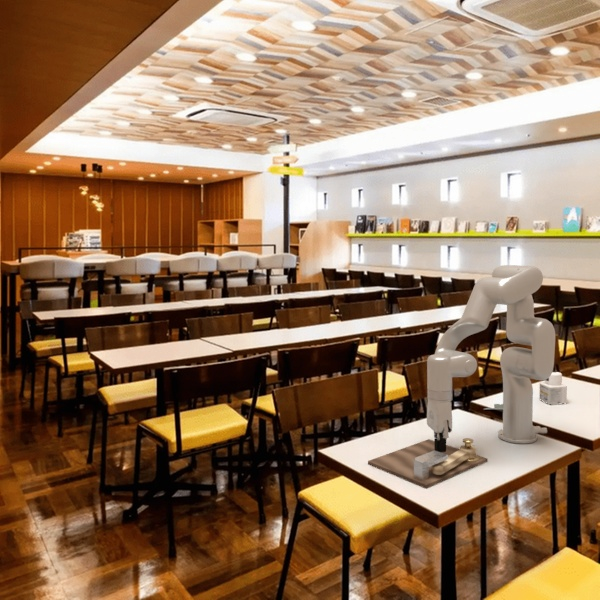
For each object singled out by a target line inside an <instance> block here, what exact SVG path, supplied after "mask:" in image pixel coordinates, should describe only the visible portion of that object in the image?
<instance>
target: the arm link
mask: <svg viewBox="0 0 600 600" xmlns="http://www.w3.org/2000/svg"><path fill="white" fill-rule="evenodd" d="M459 449H460V450H458V451H456V452H455V453H453V454H451V455H449V456H448V459H447V460H445V461H442V462H440V463H437V464H435V465H433V474H436V475H442V474H443V473H445V472H447V471H448V470H450V469H452V468H453V467H455V466H457V465H458V464H460V463H462V462H463V461H465V460H466V459H468V458H475V457H476V455H477V447H476V446H475V445H471V448H466V447H465V444H463V445H460V446H459Z"/></svg>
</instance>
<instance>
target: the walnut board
mask: <svg viewBox="0 0 600 600" xmlns="http://www.w3.org/2000/svg"><path fill="white" fill-rule="evenodd" d="M434 450H435V444H434V440H433V439H429V438H428V439H426V440H422V441H420V442H417V443H415V444H412V445H409V446H405V447H403V448H400V449H397V450H395V451H392V452H389V453H387V454H384V455H381V456H379V457H378V456H377V457H375V458H373V459H370V460H368V461H367V465H369V464H371V465H372V466H371V465H370V466H371V467H374V466H375V467H374V468H376V467H377V469H379V470H381V469H382V470H381V471H383V470H384V472H386V471H387V473H388V472H389V474H390V475H393V476H395V475H396V477H398V478H401V479H402V478H403V480H405V481H408V482H409V483H412V484H415V485H417V486H420V487H421V488H424V489H428V488H431V487H434V486H435V485H438V484H440V483H442V482H444V481H446V480H449V479H452V478H454V477H456V476H458V475H460V474H463V473H465V472H468V471H469V470H471V469H475V468H476V467H478V466H481V465H483V464H485V463H488V458H487V457H484V456H481V455H478V454H476V455H477V456H478V457H479V459H478V460H477V461H474V462H466V461H463V462H462V463H460V464H458V465H457V466H455V467H453V468H452V469H450V470H448V471H447V472H445V473H443V474H442V475H436V474H433V465H432V466H430V467H429V478H427V479H424V480H420V479H417V478H415V477H414V459H415V458H416V457H418V456H421V455H424V454H426V453H429V452H432V451H434ZM458 450H460V448H457V447H453V446H450V445H447V444H446V452H441V453H444V454H447V455H448V456H449V455H451V454H453V453H455V452H456V451H458Z"/></svg>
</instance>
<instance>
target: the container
mask: <svg viewBox="0 0 600 600" xmlns="http://www.w3.org/2000/svg"><path fill="white" fill-rule="evenodd" d="M562 381H563V374H562V373H561V372H560V371H558V370H553V371H552V374H551V376H550V377H549V378H548V379H546V380H544V382H542V381H541V382H539V400H540V399H541V400H543V401H544V402H547V403H548V404H558V405H560V404H559V403H566V404H567V400H568V399H567V398H568V396H567V395H568V393H567V391H568V387H567V385H565V384H564V383H563V382H562ZM541 400H540V401H541ZM543 401H542V402H543ZM544 402H543V403H544ZM548 404H547V405H548Z"/></svg>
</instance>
